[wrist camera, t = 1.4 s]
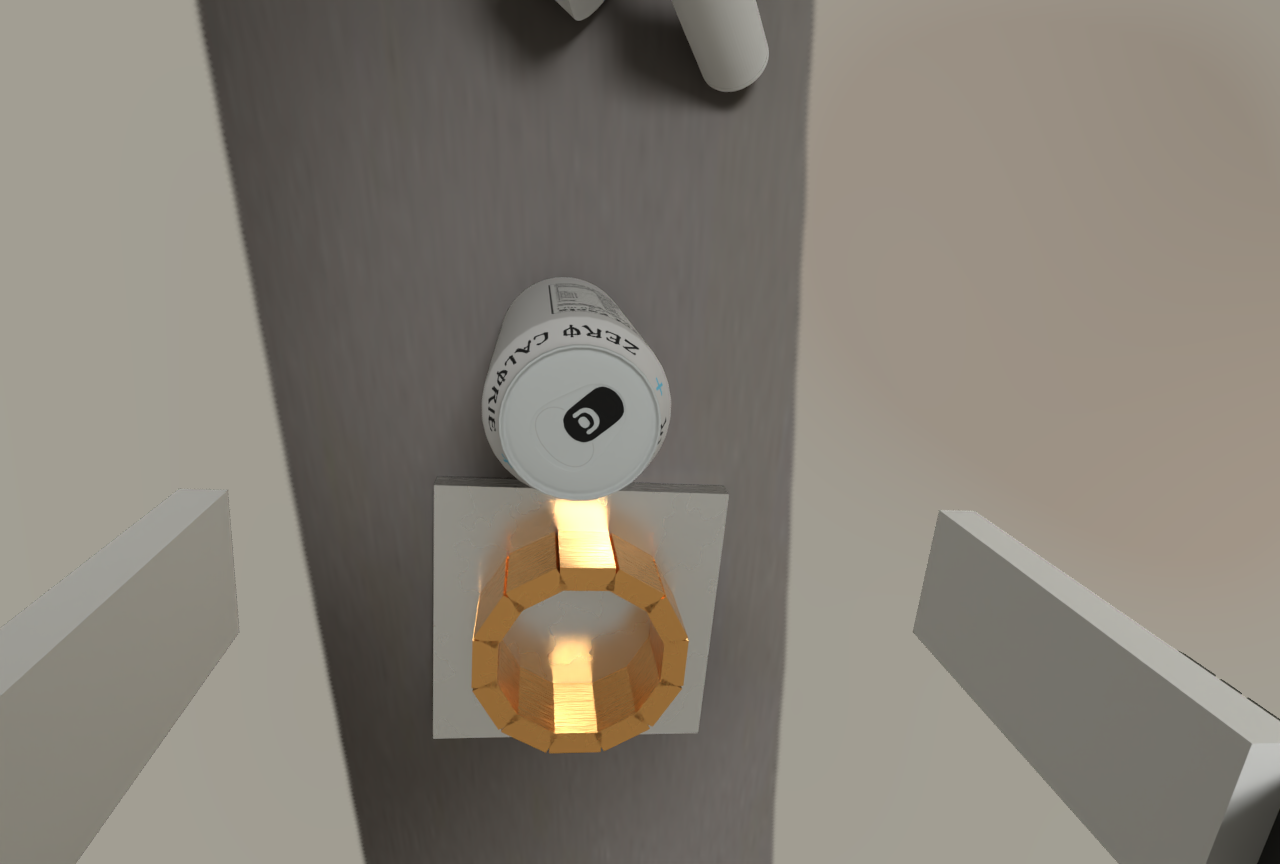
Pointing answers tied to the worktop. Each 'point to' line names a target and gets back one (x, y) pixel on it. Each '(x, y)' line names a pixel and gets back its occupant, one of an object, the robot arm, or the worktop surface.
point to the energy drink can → (573, 393)
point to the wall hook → (712, 37)
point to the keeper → (572, 611)
